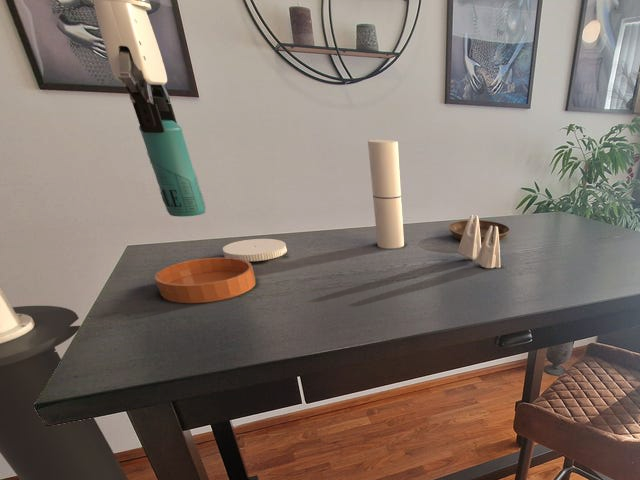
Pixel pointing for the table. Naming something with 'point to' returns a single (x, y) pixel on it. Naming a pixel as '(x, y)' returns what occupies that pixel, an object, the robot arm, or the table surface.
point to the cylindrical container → (386, 192)
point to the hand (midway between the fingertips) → (161, 130)
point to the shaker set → (473, 248)
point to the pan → (205, 280)
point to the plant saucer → (484, 226)
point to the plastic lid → (255, 249)
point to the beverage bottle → (173, 167)
